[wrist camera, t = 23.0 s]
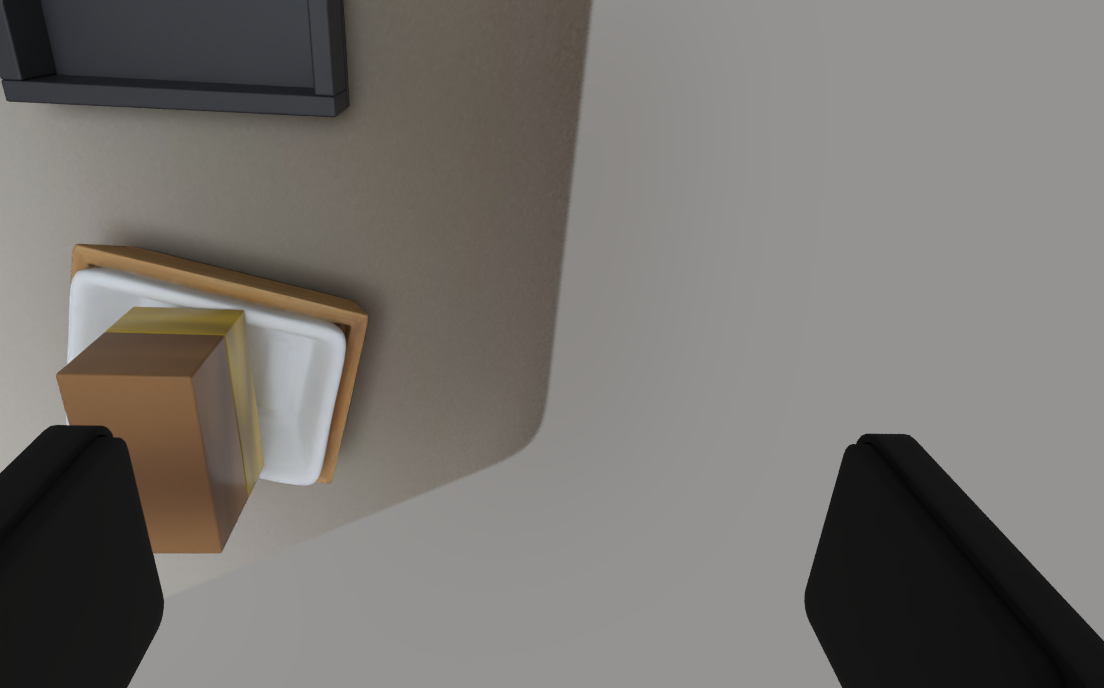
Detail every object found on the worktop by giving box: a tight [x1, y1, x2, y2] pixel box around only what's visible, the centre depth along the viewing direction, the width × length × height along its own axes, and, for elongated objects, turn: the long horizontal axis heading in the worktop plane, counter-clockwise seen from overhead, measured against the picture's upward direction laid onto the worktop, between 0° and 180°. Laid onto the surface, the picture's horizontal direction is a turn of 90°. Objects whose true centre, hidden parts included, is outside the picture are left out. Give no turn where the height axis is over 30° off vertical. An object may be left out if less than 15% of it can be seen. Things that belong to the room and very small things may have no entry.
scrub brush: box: [56, 307, 264, 553], centre depth 29 cm, size 8×4×6 cm, turn 177°
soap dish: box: [66, 244, 368, 485], centre depth 34 cm, size 12×10×5 cm
